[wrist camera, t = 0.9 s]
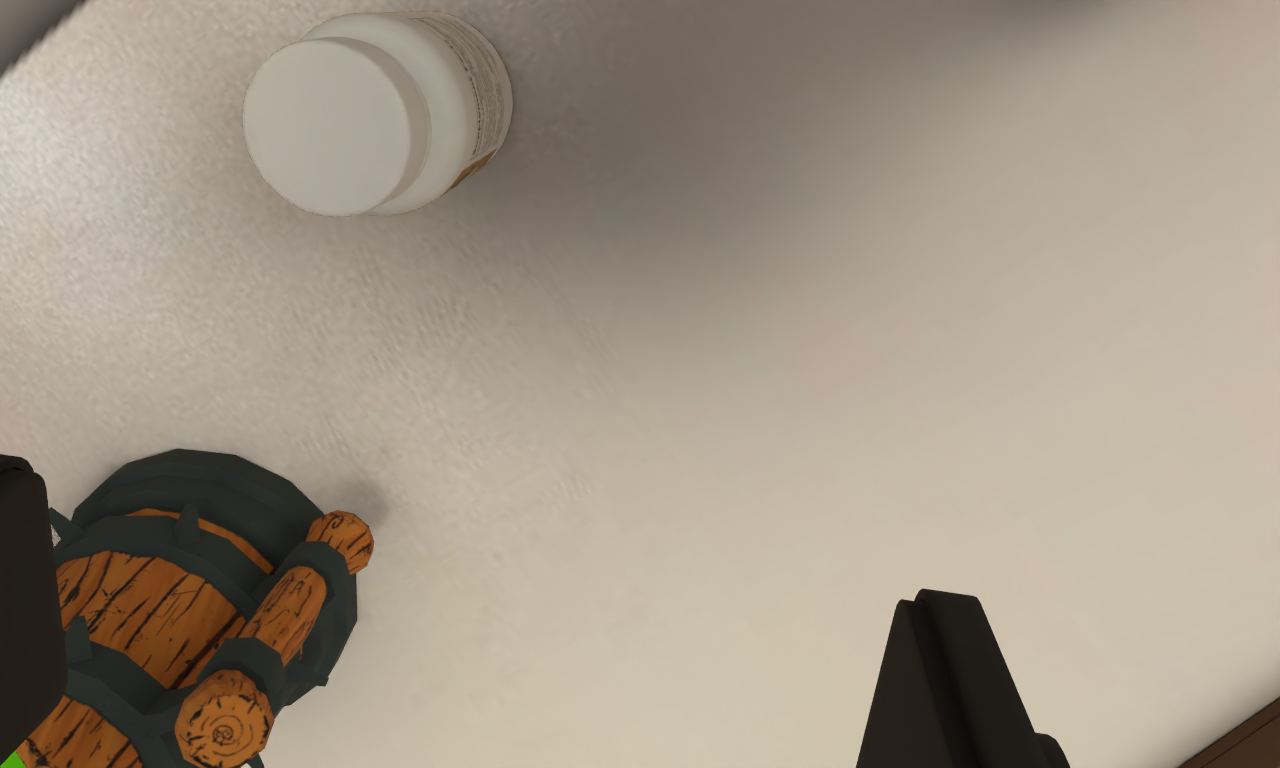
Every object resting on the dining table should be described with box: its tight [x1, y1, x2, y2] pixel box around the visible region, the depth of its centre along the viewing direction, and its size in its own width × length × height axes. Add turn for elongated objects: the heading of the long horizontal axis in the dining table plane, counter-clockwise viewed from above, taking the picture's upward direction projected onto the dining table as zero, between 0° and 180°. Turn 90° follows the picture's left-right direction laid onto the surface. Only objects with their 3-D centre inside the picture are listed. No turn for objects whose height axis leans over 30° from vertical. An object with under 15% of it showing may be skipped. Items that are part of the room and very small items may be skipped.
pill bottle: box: [242, 11, 513, 217], centre depth 23 cm, size 4×4×8 cm
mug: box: [0, 449, 374, 768], centre depth 27 cm, size 13×10×12 cm
